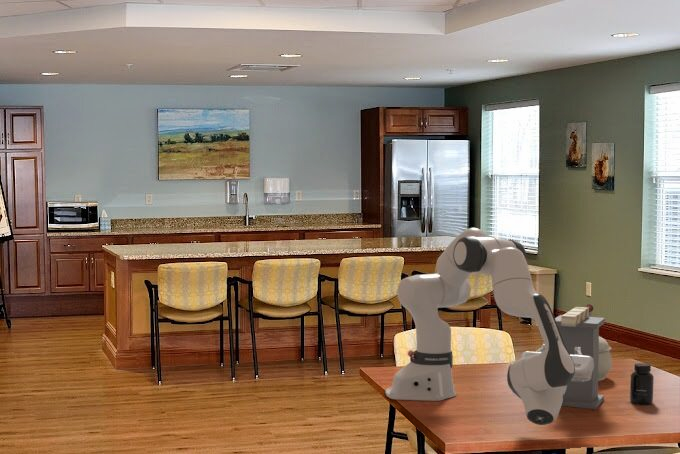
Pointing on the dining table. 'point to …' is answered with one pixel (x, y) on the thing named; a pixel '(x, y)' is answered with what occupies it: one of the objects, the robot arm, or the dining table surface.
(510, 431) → the dining table surface
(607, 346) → the kettle
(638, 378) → the supplement bottle
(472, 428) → the dining table surface
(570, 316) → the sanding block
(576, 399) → the tool stand
